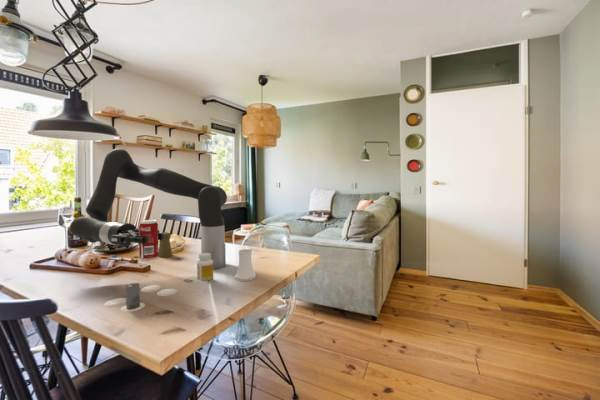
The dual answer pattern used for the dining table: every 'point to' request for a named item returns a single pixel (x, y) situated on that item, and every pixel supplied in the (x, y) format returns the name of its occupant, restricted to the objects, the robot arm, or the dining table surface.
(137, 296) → the pin
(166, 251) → the olive green pepper shaker
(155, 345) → the dining table surface
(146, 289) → the white oval discs
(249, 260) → the salt shaker
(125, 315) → the dining table surface
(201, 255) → the supplement bottle
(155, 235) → the soda can
